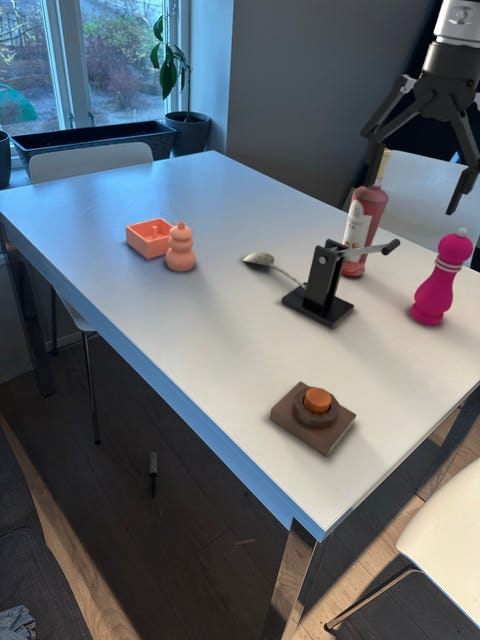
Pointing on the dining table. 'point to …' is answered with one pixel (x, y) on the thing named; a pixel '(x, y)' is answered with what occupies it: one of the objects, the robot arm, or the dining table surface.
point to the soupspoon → (268, 263)
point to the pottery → (163, 242)
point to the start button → (317, 400)
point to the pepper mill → (441, 279)
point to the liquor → (364, 220)
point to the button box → (312, 420)
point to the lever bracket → (322, 288)
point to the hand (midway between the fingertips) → (407, 198)
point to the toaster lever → (368, 249)
